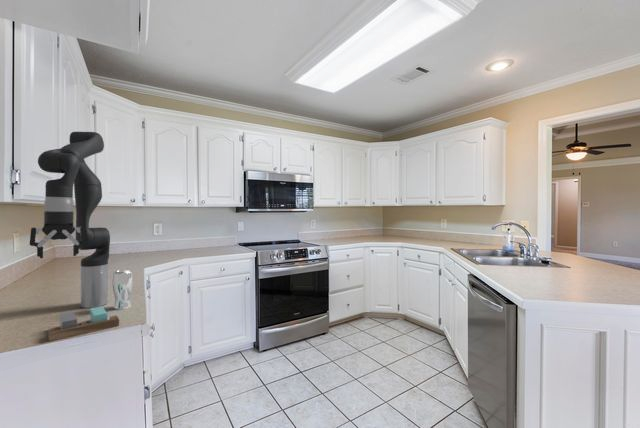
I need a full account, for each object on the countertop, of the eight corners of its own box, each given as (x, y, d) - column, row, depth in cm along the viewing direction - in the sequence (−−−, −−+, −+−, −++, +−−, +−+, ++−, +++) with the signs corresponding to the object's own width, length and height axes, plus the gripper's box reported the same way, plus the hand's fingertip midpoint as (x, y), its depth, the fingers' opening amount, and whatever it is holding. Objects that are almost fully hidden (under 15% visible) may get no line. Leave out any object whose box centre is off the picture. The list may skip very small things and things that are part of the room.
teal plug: (89, 320, 105) (89, 307, 105) (101, 318, 108) (101, 305, 108) (94, 330, 97) (94, 315, 97) (107, 327, 100) (107, 313, 100)
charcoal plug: (59, 327, 100) (59, 312, 99) (73, 324, 102) (73, 310, 102) (62, 337, 91) (62, 322, 91) (77, 334, 94) (77, 319, 94)
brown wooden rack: (48, 336, 91) (48, 329, 91) (116, 321, 104) (116, 315, 104) (48, 341, 88) (48, 333, 88) (118, 325, 101) (118, 318, 101)
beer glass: (129, 303, 125) (129, 269, 125) (134, 307, 120) (135, 271, 120) (110, 307, 119) (110, 271, 119) (115, 311, 115) (115, 274, 115)
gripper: (29, 210, 91) (29, 260, 91) (87, 210, 101) (86, 256, 101) (29, 209, 96) (29, 257, 96) (84, 210, 106) (83, 253, 107)
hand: (58, 256), depth 99 cm, fingers open, 8 cm apart
